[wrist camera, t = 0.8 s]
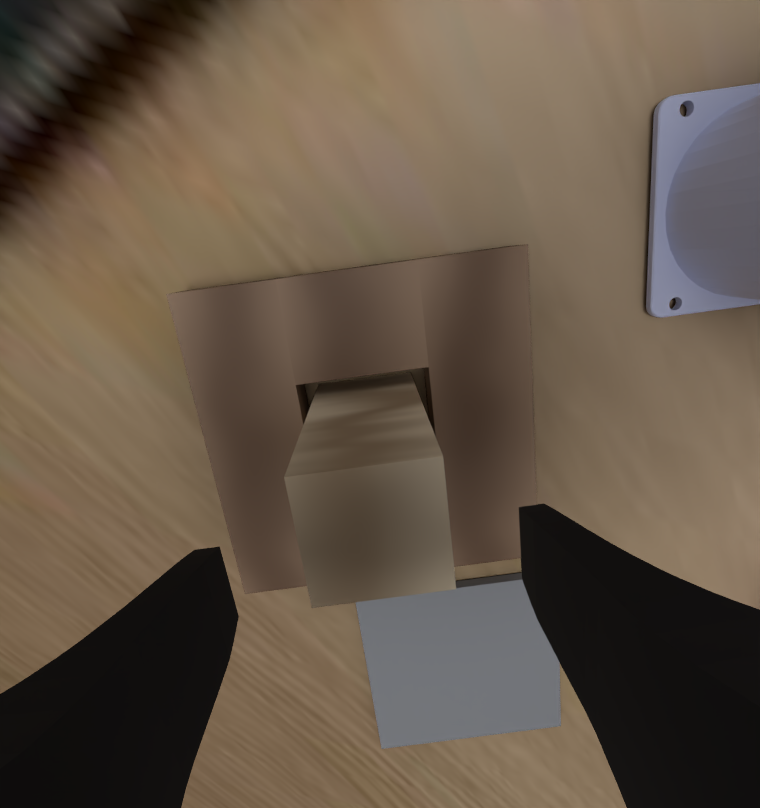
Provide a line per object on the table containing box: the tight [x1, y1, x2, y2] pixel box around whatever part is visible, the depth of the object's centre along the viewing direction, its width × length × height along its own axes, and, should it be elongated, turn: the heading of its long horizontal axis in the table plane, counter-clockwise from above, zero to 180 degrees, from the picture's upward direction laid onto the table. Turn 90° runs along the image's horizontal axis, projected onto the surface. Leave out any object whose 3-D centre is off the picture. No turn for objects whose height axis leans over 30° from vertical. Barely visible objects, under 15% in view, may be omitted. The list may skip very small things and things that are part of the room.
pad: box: [356, 573, 561, 749], centre depth 25 cm, size 10×10×1 cm
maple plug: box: [284, 372, 456, 608], centre depth 17 cm, size 4×4×9 cm
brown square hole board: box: [166, 245, 537, 594], centre depth 20 cm, size 13×13×2 cm
